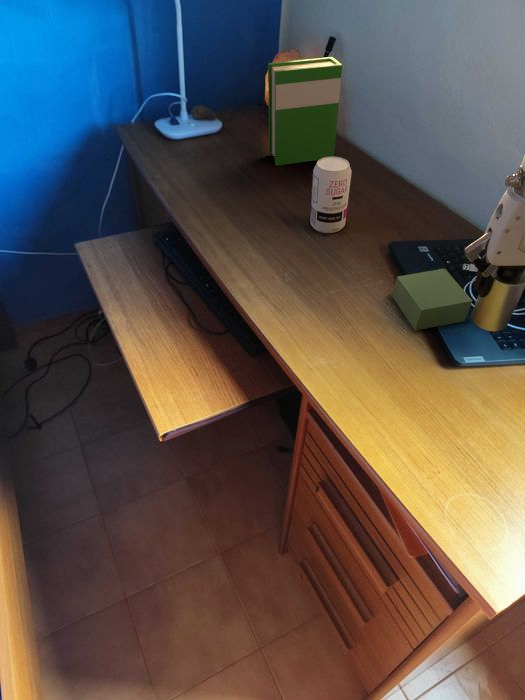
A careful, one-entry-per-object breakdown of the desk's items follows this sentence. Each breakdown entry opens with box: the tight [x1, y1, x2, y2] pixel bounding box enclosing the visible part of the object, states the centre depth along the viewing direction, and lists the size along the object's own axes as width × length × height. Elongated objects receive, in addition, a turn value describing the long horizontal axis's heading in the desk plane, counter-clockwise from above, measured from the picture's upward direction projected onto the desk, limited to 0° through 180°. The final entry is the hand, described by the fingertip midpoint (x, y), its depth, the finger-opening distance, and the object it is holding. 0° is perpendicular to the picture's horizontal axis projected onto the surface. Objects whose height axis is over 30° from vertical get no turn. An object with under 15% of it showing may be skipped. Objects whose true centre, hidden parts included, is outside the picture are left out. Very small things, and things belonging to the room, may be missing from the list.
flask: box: [470, 265, 525, 332], centre depth 74 cm, size 6×6×11 cm
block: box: [392, 268, 473, 331], centre depth 87 cm, size 10×10×5 cm
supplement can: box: [309, 156, 353, 234], centre depth 105 cm, size 8×8×15 cm
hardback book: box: [267, 56, 343, 167], centre depth 128 cm, size 18×7×24 cm, turn 105°
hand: (501, 290), depth 73 cm, fingers closed on flask, 5 cm apart
